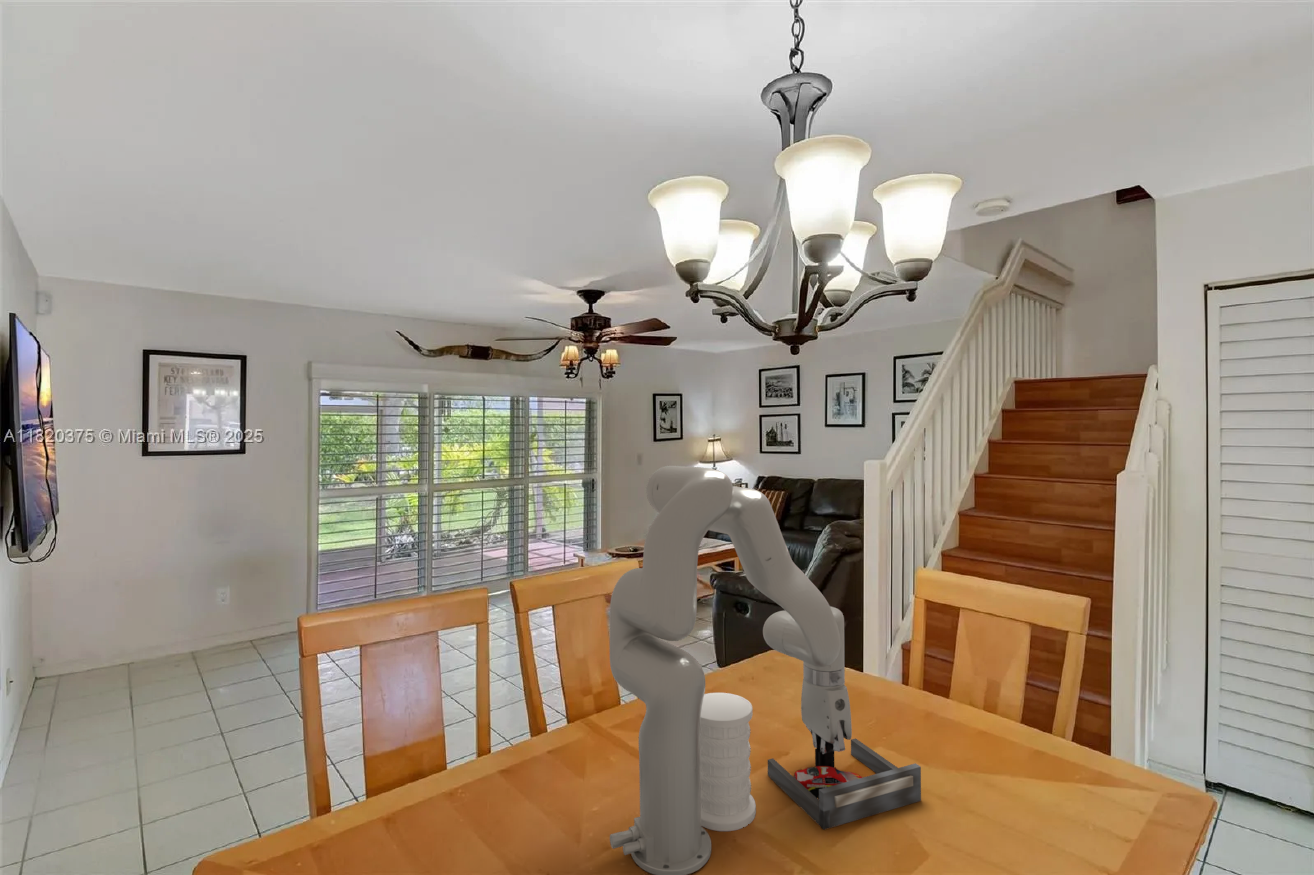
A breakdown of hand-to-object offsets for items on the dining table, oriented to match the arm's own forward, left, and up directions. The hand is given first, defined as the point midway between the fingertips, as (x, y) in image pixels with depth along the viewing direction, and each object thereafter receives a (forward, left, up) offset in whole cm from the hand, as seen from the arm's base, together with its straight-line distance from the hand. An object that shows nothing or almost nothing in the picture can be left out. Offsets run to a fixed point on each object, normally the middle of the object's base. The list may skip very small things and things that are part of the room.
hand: (824, 770), depth 118 cm
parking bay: (0, -4, -1) cm, 4 cm away
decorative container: (-23, -2, -1) cm, 23 cm away
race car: (-2, -5, -1) cm, 6 cm away
